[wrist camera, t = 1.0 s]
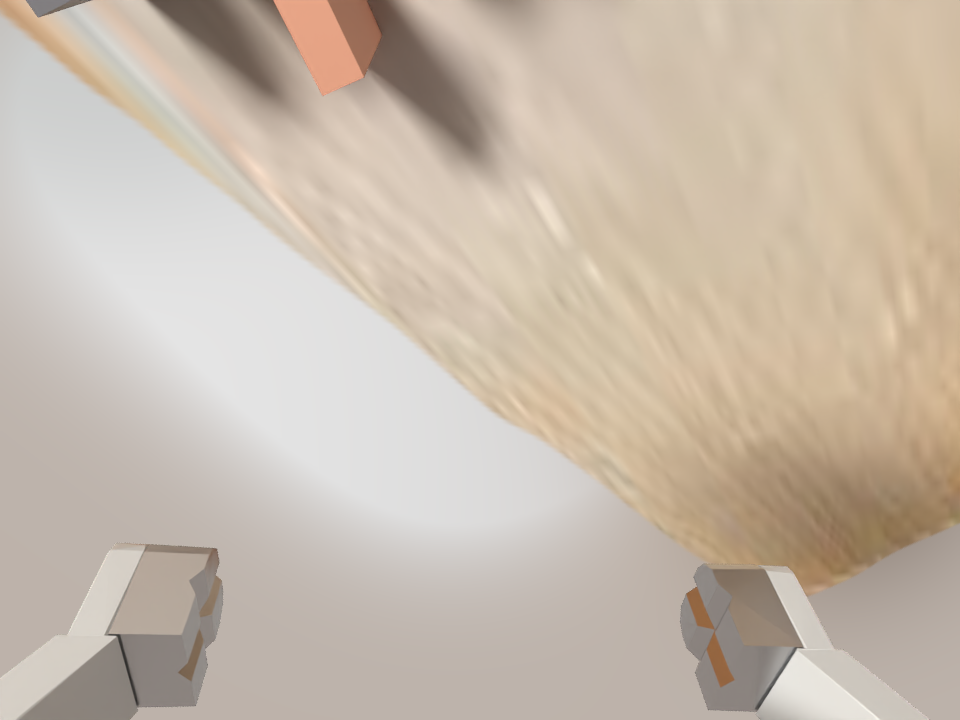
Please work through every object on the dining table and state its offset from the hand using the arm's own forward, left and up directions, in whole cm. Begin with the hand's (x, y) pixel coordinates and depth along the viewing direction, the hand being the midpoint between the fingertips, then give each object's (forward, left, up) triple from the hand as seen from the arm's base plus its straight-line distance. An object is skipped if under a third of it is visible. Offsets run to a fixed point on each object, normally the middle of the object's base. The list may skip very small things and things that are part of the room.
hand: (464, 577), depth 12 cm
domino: (+3, -7, -34) cm, 35 cm away
